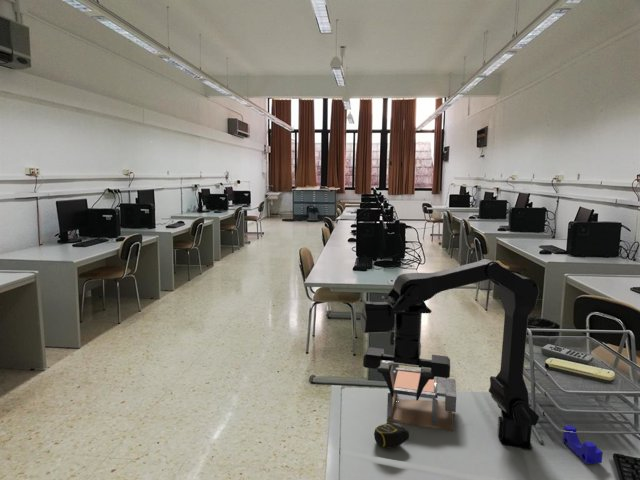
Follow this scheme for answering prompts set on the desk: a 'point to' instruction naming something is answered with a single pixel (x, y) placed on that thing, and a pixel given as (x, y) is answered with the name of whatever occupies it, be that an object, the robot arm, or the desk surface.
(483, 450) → the desk surface
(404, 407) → the framed copper bin
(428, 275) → the robot arm
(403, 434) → the tape measure
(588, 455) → the cable holder
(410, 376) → the trapdoor
